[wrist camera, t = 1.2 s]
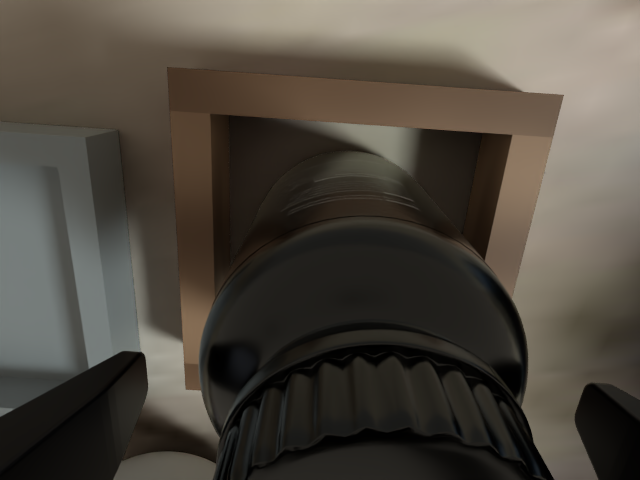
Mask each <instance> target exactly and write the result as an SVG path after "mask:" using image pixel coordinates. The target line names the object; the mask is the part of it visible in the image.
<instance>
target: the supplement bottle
mask: <svg viewBox="0 0 640 480" xmlns="http://www.w3.org/2000/svg"><path fill="white" fill-rule="evenodd" d="M527 376H528V349H527V341H526V335H525V332H524V328H523V324H522V321H521V318H520V316H519V313H518V311H517V308H516V306H515V304H514V302H513V300H512V299H511V297H510V295H509V293H508V292H507V290H506V289H505V287H504V286H503V284H502V283H501V282H500V280H499V279H498V277H497V276H496V274H495V273H494V272H493V270H492V269H491V268H490V267H489V266H488V264H487V263H486V262H485V261H484V260H483V258H482V257H481V256H480V255H479V254H478V253H477V251H476V250H475V249H474V248H473V247H472V245H471V244H470V243H469V242H468V241H467V240H466V238H465V237H464V236H463V235H462V234H461V233H460V231H459V230H458V229H457V228H456V227H455V226H454V224H453V223H452V222H451V221H450V220H449V218H448V217H447V216H446V215H445V214H444V213H443V211H442V210H441V209H440V208H439V207H438V206H437V204H436V203H435V202H434V201H433V200H432V198H431V197H430V196H429V195H428V194H427V193H426V191H425V190H424V189H423V188H422V187H421V186H420V185H419V184H418V183H417V182H416V181H415V180H414V178H413V177H411V176H410V175H409V174H408V173H407V172H406V171H405V170H403V169H402V168H400V167H399V166H397V165H396V164H394V163H392V162H391V161H389V160H387V159H384V158H382V157H379V156H376V155H373V154H370V153H365V152H359V151H334V152H329V153H324V154H320V155H317V156H314V157H312V158H309V159H307V160H305V161H303V162H301V163H299V164H298V165H296V166H294V167H293V168H291V169H290V170H289V171H288V172H286V173H285V174H284V175H283V176H282V177H281V178H280V179H279V180H278V181H277V182H276V183H275V185H274V186H273V187H272V188H271V190H270V191H269V193H268V194H267V196H266V197H265V199H264V201H263V202H262V204H261V206H260V208H259V210H258V212H257V214H256V216H255V218H254V220H253V222H252V224H251V226H250V228H249V230H248V232H247V234H246V237H245V239H244V241H243V243H242V245H241V247H240V249H239V251H238V253H237V255H236V257H235V259H234V261H233V263H232V265H231V267H230V269H229V271H228V273H227V275H226V277H225V279H224V281H223V283H222V285H221V288H220V290H219V292H218V294H217V296H216V298H215V300H214V302H213V304H212V307H211V310H210V312H209V315H208V318H207V320H206V323H205V326H204V329H203V333H202V337H201V341H200V349H199V380H200V388H201V392H202V396H203V400H204V404H205V407H206V410H207V412H208V415H209V418H210V420H211V422H212V424H213V426H214V428H215V430H216V432H217V434H218V435H219V437H220V441H219V445H218V450H217V459H216V470H215V473H214V477H213V480H554V479H553V477H552V475H551V473H550V471H549V470H548V468H547V466H546V464H545V462H544V461H543V459H542V457H541V455H540V454H539V452H538V450H537V448H536V446H535V445H534V443H533V437H532V433H531V429H530V426H529V423H528V421H527V418H526V416H525V414H524V412H523V410H522V408H521V406H522V403H523V399H524V394H525V390H526V385H527Z"/></svg>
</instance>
